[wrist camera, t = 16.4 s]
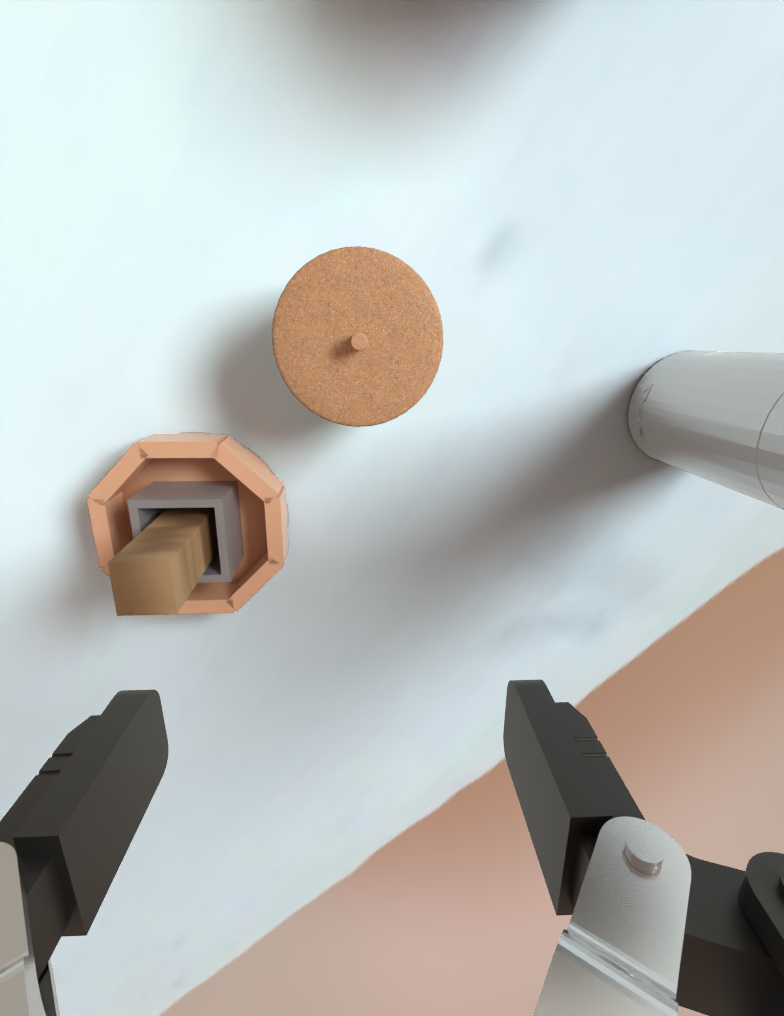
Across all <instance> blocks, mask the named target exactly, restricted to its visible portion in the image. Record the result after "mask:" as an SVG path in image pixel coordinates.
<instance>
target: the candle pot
mask: <svg viewBox="0 0 784 1016" xmlns="http://www.w3.org/2000/svg"><path fill="white" fill-rule="evenodd" d="M282 485H283V482H282V481H280V480H279V479H278V478H277V477H276V476H275V474H274V473H273V472H272V470H271V469H270V468H269V466H268V465H267V464H266V463H265V462H264V461H263V460H262V459H261V458H260V457H259V456H258V455H256V454H255V453H254V452H252V451H251V450H250V449H248V448H247V447H245V446H243V445H242V444H240V443H238V442H237V441H236V440H235V439H233V438H232V437H231V436H229V437H228V438H227V434H210V433H201V432H188V433H179V434H154V435H151V436H149V437H147V438H145V439H143V440H141V441H138V442H136V443H134V445H133V446H132V447H131V448H130V449H129V450H128V451H127V452H126V454H125V455H124V456H123V457H122V458H121V459H120V460H119V461H118V463H117V464H116V465H115V466H114V467H113V468H112V469H111V470H110V471H109V473H108V474H107V475H106V476H105V477H104V478H103V479H102V480H101V482H100V483H99V484H98V485H97V486H96V487H95V488H94V489H93V491H92V492H91V493H90V494H89V495H88V497H90V498H88V499H87V503H88V508H89V514H90V519H91V524H92V530H93V535H94V540H95V545H96V551H97V556H98V561H99V567H104V568H103V570H102V571H103V572H104V573H106V574H107V575H108V576H110V572H109V566H108V562H109V561H110V560H111V559H112V558H113V557H114V556H115V555H117V554H118V553H119V552H120V551H121V550H122V549H123V548H124V547H125V546H126V545H128V544H129V543H130V542H131V541H132V540H133V539H134V538H135V537H136V536H137V535H139V534H140V533H141V532H142V531H143V530H144V529H145V528H146V527H147V526H148V525H150V524H151V523H152V522H153V521H154V520H155V519H156V518H157V517H158V516H160V515H161V514H162V513H163V512H164V511H165V510H166V509H167V508H209V507H214V509H215V518H216V528H217V537H218V547H219V550H218V551H217V553H216V554H215V556H214V557H213V559H212V560H211V562H210V564H209V565H208V567H207V568H206V570H205V571H204V573H203V575H202V576H201V578H200V579H199V581H198V582H197V584H196V585H195V587H194V589H193V590H192V592H191V593H190V595H189V596H188V598H187V600H186V601H185V603H184V604H183V606H182V607H181V609H180V610H179V612H178V614H207V613H234V611H235V610H236V611H238V610H239V609H240V608H241V607H242V606H243V605H244V604H245V603H246V602H247V601H248V600H249V599H250V598H251V597H252V596H253V595H254V594H255V593H256V592H257V591H259V590H260V589H261V588H262V587H263V586H264V585H265V584H266V583H267V582H268V581H269V580H270V579H271V578H272V577H273V576H274V575H275V574H276V573H277V572H278V571H279V570H280V569H281V568H282V567H283V565H284V562H285V559H286V556H287V553H288V549H289V546H288V508H287V502H286V494H285V486H282ZM164 615H170V614H164Z"/></svg>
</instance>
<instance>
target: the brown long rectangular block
mask: <svg viewBox="0 0 784 1016" xmlns="http://www.w3.org/2000/svg"><path fill="white" fill-rule="evenodd" d="M218 550H219V547H218V537H217V528H216V518H215V509H214V507H209V508H167V509H166V510H165V511H164V512H163V513H162V514H161V515H160V516H158V517H157V518H156V519H155V520H154V521H153V522H152V523H151V524H150V525H148V526H147V527H146V528H145V529H144V530H143V531H142V532H141V533H140V534H139V535H137V536H136V537H135V538H134V539H133V540H132V541H131V542H130V543H129V544H128V545H126V546H125V547H124V548H123V549H122V550H121V551H120V552H119V553H118V554H117V555H115V556H114V557H113V558H112V559H111V560H110V561H109V562H108V566H109V572H110V578H111V583H112V589H113V595H114V600H115V606H116V611H117V616H123V615H164V614H178V612H179V610H180V609H181V607H182V606H183V604H184V603H185V601H186V600H187V598H188V596H189V595H190V593H191V592H192V590H193V589H194V587H195V585H196V584H197V582H198V581H199V579H200V578H201V576H202V575H203V573H204V571H205V570H206V568H207V567H208V565H209V564H210V562H211V560H212V559H213V557H214V556H215V554H216V553H217V551H218Z"/></svg>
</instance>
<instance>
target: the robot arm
mask: <svg viewBox="0 0 784 1016" xmlns="http://www.w3.org/2000/svg"><path fill="white" fill-rule="evenodd" d="M628 423H629V429H630V433H631V435H632V438H633V440H634V442H635V443H636V444H637V446H638V447H639V449H640V450H642V451H643V452H644V453H645V454H646V455H648V456H650V457H652V458H654V459H656V460H659V461H661V462H664V463H667V464H669V465H672V466H674V467H677V468H679V469H681V470H684V471H686V472H689V473H692V474H694V475H697V476H699V477H702V478H704V479H707V480H709V481H712V482H715V483H717V484H720V485H722V486H725V487H727V488H730V489H733V490H735V491H738V492H740V493H743V494H745V495H748V496H751V497H753V498H756V499H758V500H761V501H763V502H766V503H768V504H771V505H774V506H776V507H779V508H781V509H784V353H752V352H725V351H684V352H679V353H675V354H672V355H670V356H668V357H665V358H664V359H662V360H661V361H659V362H658V363H656V364H655V365H653V366H652V367H651V368H650V369H649V370H648V371H647V372H646V373H645V374H644V376H643V377H642V378H641V380H640V381H639V383H638V384H637V386H636V388H635V390H634V392H633V394H632V397H631V401H630V405H629V411H628ZM503 739H504V751H505V757H506V761H507V765H508V768H509V771H510V774H511V777H512V780H513V783H514V786H515V789H516V793H517V796H518V799H519V802H520V805H521V808H522V811H523V814H524V817H525V820H526V823H527V826H528V829H529V832H530V836H531V839H532V842H533V845H534V848H535V851H536V854H537V857H538V860H539V863H540V866H541V869H542V872H543V875H544V878H545V881H546V885H547V888H548V891H549V893H550V897H551V899H552V903H553V906H554V909H555V912H556V915H572V918H571V921H570V924H569V926H568V929H567V931H566V930H563V932H562V934H561V936H560V939H559V942H558V945H557V947H556V950H555V953H554V956H553V959H552V962H551V965H550V968H549V971H548V974H547V977H546V980H545V983H544V986H543V989H542V992H541V994H540V997H539V1001H538V1003H537V1007H536V1009H535V1012H534V1016H678V1005H679V1006H682V1007H685V1008H688V1009H691V1010H694V1011H697V1012H700V1013H702V1014H705V1015H709V1016H784V854H781V853H774V852H763V853H759V854H756V855H755V856H753V857H752V858H751V859H750V860H749V862H748V865H747V868H746V871H742V870H738V869H734V868H731V867H727V866H723V865H719V864H715V863H711V862H707V861H704V860H700V859H697V858H694V857H692V856H689V855H687V854H685V853H684V851H683V850H682V848H681V847H680V846H679V844H678V843H677V842H676V841H675V840H674V839H673V838H672V837H671V836H670V835H669V834H667V833H666V832H665V831H664V830H662V829H661V828H659V827H658V826H656V825H654V824H652V823H650V822H648V821H646V820H645V819H644V817H643V815H642V814H641V812H640V810H639V808H638V807H637V805H636V803H635V802H634V800H633V798H632V796H631V795H630V793H629V791H628V789H627V788H626V786H625V785H624V782H623V781H622V779H621V777H620V776H619V774H618V772H617V771H616V769H615V767H614V765H613V764H612V762H611V760H610V758H609V757H607V755H606V752H605V750H604V748H603V746H602V744H601V743H600V741H598V740H597V736H596V734H595V732H594V731H593V729H592V727H591V725H590V724H589V722H588V720H587V718H586V717H584V716H583V715H582V714H581V713H580V712H579V711H578V710H576V709H575V708H574V707H573V706H572V705H571V704H569V703H568V702H559V703H555V702H554V700H553V698H552V696H551V694H550V692H549V690H548V688H547V686H546V684H545V683H544V681H543V680H513V681H509V683H508V687H507V698H506V710H505V722H504V735H503ZM167 759H168V740H167V735H166V729H165V723H164V718H163V712H162V706H161V701H160V696H159V693H158V692H157V691H156V690H130V691H120V692H118V693H117V694H116V695H115V696H114V698H113V699H112V700H111V702H110V703H109V705H108V706H107V707H106V709H105V710H104V711H103V713H102V714H101V715H97V716H90V717H89V718H88V719H87V720H85V721H84V722H83V723H81V724H80V725H79V726H77V727H76V728H75V729H73V730H72V731H71V732H70V733H68V735H67V736H66V737H65V738H64V740H63V741H62V742H61V744H60V745H59V746H58V747H57V749H56V750H55V751H54V753H53V756H52V758H49V759H48V760H47V762H46V763H45V764H44V766H43V767H42V768H41V769H40V771H39V775H36V776H35V777H34V779H33V780H32V781H31V782H30V784H29V785H28V786H27V788H26V789H25V790H24V791H23V793H22V794H21V795H20V797H19V798H18V799H17V801H16V802H15V803H14V804H13V806H12V807H11V808H10V810H9V811H8V812H7V813H6V815H5V816H4V817H3V819H2V820H1V821H0V1016H60V1012H59V1006H58V1000H57V993H56V987H55V981H54V974H53V968H52V964H51V961H50V957H51V955H52V953H53V951H54V949H55V948H56V946H57V944H58V942H59V940H60V938H61V936H83V935H87V933H88V931H89V929H90V927H91V925H92V923H93V921H94V918H95V916H96V914H97V912H98V910H99V908H100V906H101V904H102V902H103V900H104V898H105V895H106V893H107V891H108V889H109V887H110V885H111V883H112V881H113V879H114V877H115V875H116V872H117V870H118V868H119V866H120V864H121V862H122V860H123V858H124V856H125V854H126V852H127V850H128V847H129V845H130V843H131V841H132V839H133V837H134V835H135V833H136V831H137V829H138V827H139V824H140V822H141V820H142V818H143V816H144V814H145V812H146V810H147V808H148V806H149V804H150V801H151V799H152V797H153V795H154V793H155V791H156V789H157V787H158V785H159V783H160V781H161V778H162V776H163V774H164V771H165V768H166V764H167Z"/></svg>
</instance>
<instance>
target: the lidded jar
mask: <svg viewBox="0 0 784 1016" xmlns="http://www.w3.org/2000/svg"><path fill="white" fill-rule="evenodd" d="M272 342H273V350H274V355H275V359H276V363H277V366H278V369H279V371H280V373H281V375H282V378H283V380H284V381H285V383H286V385H287V386H288V388H289V389H290V391H291V392H292V393H293V394H294V396H295V397H296V398H297V399H298V400H299V401H300V402H301V403H302V404H303V405H304V406H305V407H307V408H308V409H309V410H310V411H312V412H313V413H315V414H317V415H318V416H320V417H322V418H324V419H326V420H329V421H331V422H334V423H338V424H342V425H346V426H356V427H362V426H373V425H377V424H382V423H385V422H387V421H390V420H392V419H395V418H397V417H398V416H400V415H402V414H404V413H405V412H407V411H408V410H409V409H410V408H412V407H413V406H414V405H415V404H416V403H417V402H418V401H419V400H420V399H421V398H422V397H423V395H424V394H425V393H426V391H427V390H428V388H429V387H430V385H431V384H432V382H433V380H434V378H435V375H436V373H437V371H438V368H439V364H440V361H441V357H442V349H443V327H442V321H441V316H440V313H439V310H438V306H437V303H436V301H435V299H434V297H433V295H432V293H431V291H430V289H429V288H428V286H427V285H426V284H425V282H424V281H423V279H422V278H421V277H420V276H419V275H418V274H417V273H416V272H415V271H414V270H413V269H412V268H411V267H410V266H409V265H407V264H406V263H404V262H403V261H402V260H400V259H399V258H397V257H395V256H393V255H391V254H389V253H387V252H384V251H380V250H377V249H374V248H367V247H344V248H339V249H335V250H331V251H328V252H326V253H324V254H321V255H319V256H317V257H315V258H314V259H312V260H311V261H309V262H308V263H306V264H305V265H304V266H303V267H302V268H301V269H300V270H299V271H297V272H296V273H295V275H294V276H293V277H292V278H291V280H290V281H289V282H288V284H287V285H286V287H285V289H284V291H283V292H282V294H281V296H280V298H279V301H278V304H277V307H276V310H275V314H274V320H273V328H272Z"/></svg>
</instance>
